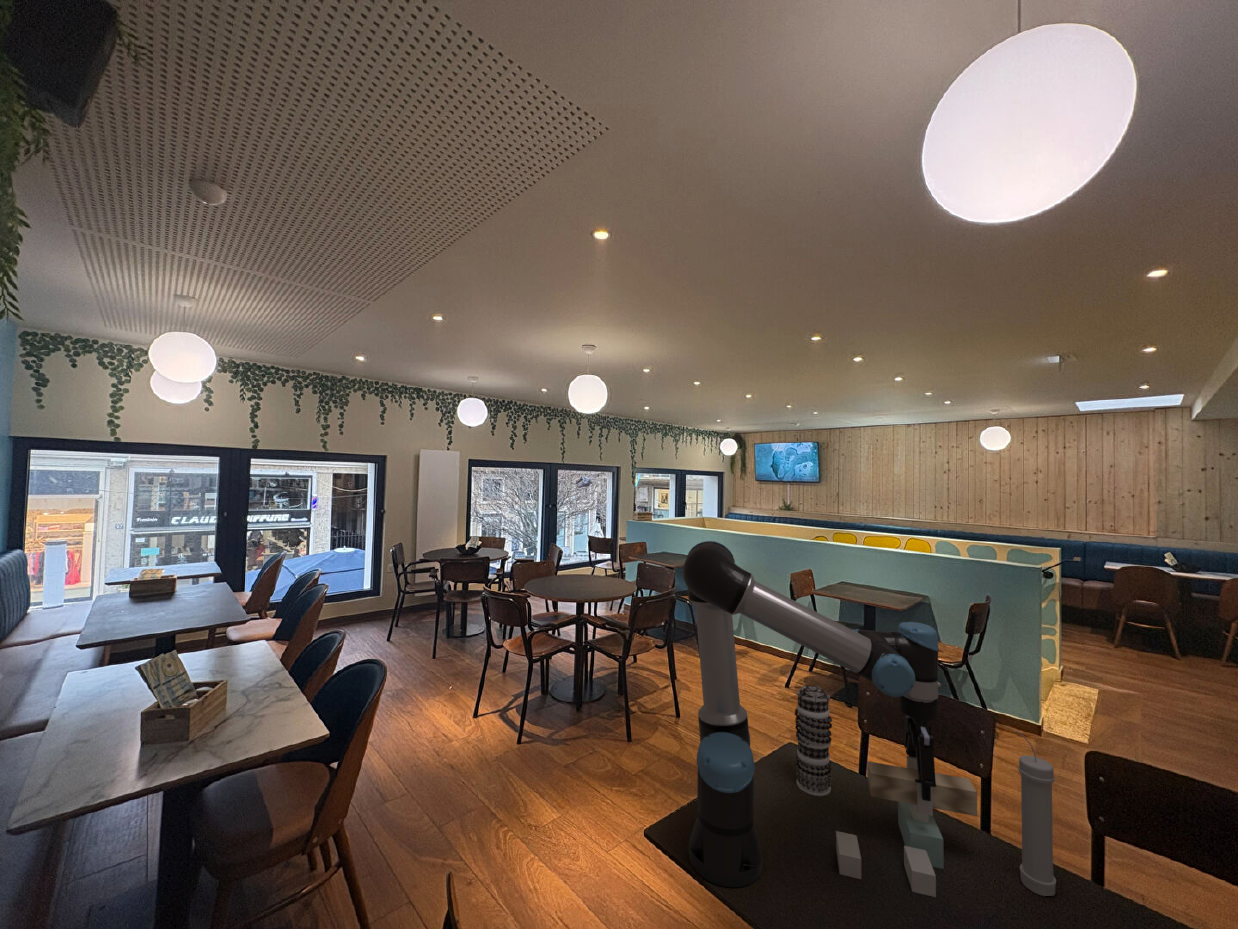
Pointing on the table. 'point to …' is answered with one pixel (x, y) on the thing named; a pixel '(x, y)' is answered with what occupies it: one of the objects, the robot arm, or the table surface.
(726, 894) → the table surface
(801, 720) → the studded grey cylinder
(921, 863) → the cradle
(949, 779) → the wooden block
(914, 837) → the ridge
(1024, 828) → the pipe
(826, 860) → the table surface
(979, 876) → the table surface
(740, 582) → the robot arm
